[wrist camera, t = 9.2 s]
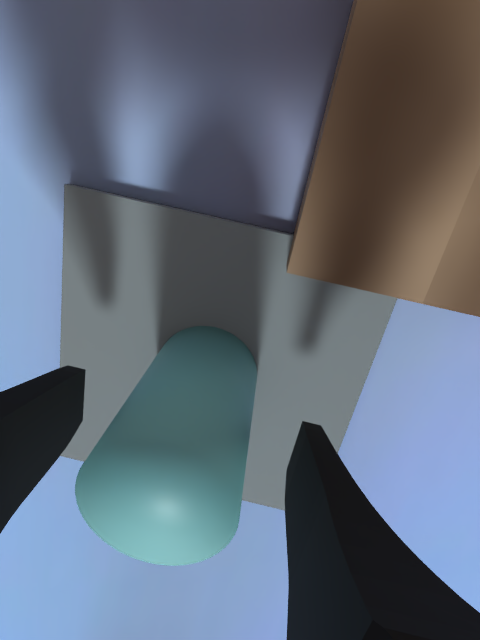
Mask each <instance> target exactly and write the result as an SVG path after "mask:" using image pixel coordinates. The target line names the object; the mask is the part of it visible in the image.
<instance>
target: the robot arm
mask: <svg viewBox="0 0 480 640" xmlns="http://www.w3.org/2000/svg"><path fill="white" fill-rule="evenodd" d="M85 373H86V369H81V368H77V367H73V366H69V365H67V366H64V367H61V368H59V369H56V370H54V371H51V372H49V373H46V374H44V375H41V376H39V377H37V378H34V379H32V380H29V381H27V382H25V383H22V384H20V385H17V386H15V387H12V388H10V389H7V390H5V391H2V392H0V533H1V532H2V530H3V529H4V527H5V526H6V524H7V523H8V521H9V520H10V518H11V517H12V515H13V514H14V513H15V511H16V510H17V509H18V507H19V506H20V505H21V504H22V502H23V501H24V500H25V499H26V497H27V496H28V495H29V494H30V492H31V491H32V490H33V489H34V487H35V486H36V485H37V484H38V482H39V481H40V480H41V479H42V478H43V476H44V475H45V474H46V473H47V471H48V470H49V469H50V468H51V466H52V465H53V464H54V463H55V461H56V460H57V459H58V458H59V456H60V455H61V454H62V452H63V451H64V450H65V449H66V447H67V446H68V444H69V443H70V441H71V439H72V438H73V436H74V435H75V433H76V431H77V430H78V428H79V426H80V424H81V423H82V421H83V409H84V391H85ZM285 518H286V537H287V554H288V573H289V595H288V623H287V640H480V613H479V612H478V611H477V610H475V609H474V608H473V607H472V606H471V605H469V604H468V603H467V602H466V601H464V600H463V599H462V598H461V597H460V596H459V595H457V594H456V593H455V592H454V591H453V590H452V589H451V588H450V587H449V586H448V585H446V584H445V583H444V582H443V581H442V580H441V579H440V578H439V577H438V576H436V575H435V574H434V573H433V572H432V571H431V570H430V569H429V568H428V567H427V566H426V565H425V564H424V563H423V562H422V561H421V560H420V559H419V558H418V557H417V556H416V555H415V554H414V553H413V552H412V551H411V550H410V549H409V548H408V546H407V545H406V544H405V543H404V542H403V541H402V540H401V539H400V538H399V537H398V536H397V535H396V534H395V532H394V531H393V530H392V529H391V528H390V527H389V525H388V524H387V523H386V522H385V521H384V519H383V518H382V517H381V516H380V515H379V513H378V512H377V511H376V510H375V508H374V507H373V506H372V505H371V503H370V502H369V501H368V499H367V498H366V496H365V495H364V494H363V492H362V491H361V489H360V488H359V487H358V485H357V484H356V482H355V481H354V479H353V478H352V476H351V475H350V473H349V472H348V470H347V468H346V467H345V465H344V464H343V462H342V460H341V459H340V457H339V455H338V454H337V452H336V450H335V449H334V447H333V445H332V443H331V442H330V440H329V438H328V436H327V435H326V433H325V431H324V430H323V428H322V426H321V425H317V424H313V423H309V422H305V421H302V424H301V427H300V430H299V433H298V436H297V439H296V442H295V445H294V448H293V451H292V454H291V457H290V461H289V464H288V467H287V470H286V484H285Z"/></svg>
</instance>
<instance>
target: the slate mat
mask: <svg viewBox="0 0 480 640" xmlns="http://www.w3.org/2000/svg"><path fill="white" fill-rule="evenodd" d="M293 238H294V234H290V233H285V232H281V231H276V230H272V229H267V228H263V227H259V226H254V225H250V224H245V223H241V222H236V221H232V220H228V219H223V218H219V217H214V216H210V215H205V214H201V213H196V212H192V211H188V210H183V209H179V208H174V207H170V206H165V205H161V204H157V203H152V202H148V201H143V200H139V199H134V198H130V197H126V196H121V195H117V194H112V193H108V192H103V191H99V190H95V189H90V188H86V187H81V186H77V185H72V184H65V186H64V226H63V266H62V306H61V345H60V368H61V367H64V366H67V365H69V366H73V367H77V368H81V369H86V373H85V391H84V409H83V421H82V423H81V424H80V426H79V428H78V430H77V431H76V433H75V435H74V436H73V438H72V439H71V441H70V443H69V444H68V446H67V447H66V449H65V450H64V451H63V452H62V454H61V455H60V456H63V457H67V458H71V459H75V460H80V461H84V462H85V460H86V459H87V457H88V456H89V454H90V453H91V451H92V450H93V448H94V447H95V446H96V444H97V443H98V441H99V440H100V438H101V437H102V435H103V434H104V432H105V431H106V429H107V428H108V426H109V425H110V424H111V422H112V421H113V419H114V418H115V416H116V415H117V413H118V412H119V410H120V409H121V407H122V406H123V404H124V403H125V401H126V400H127V399H128V397H129V396H130V394H131V393H132V391H133V390H134V388H135V387H136V385H137V384H138V382H139V381H140V379H141V378H142V377H143V375H144V374H145V372H146V371H147V369H148V368H149V366H150V365H151V363H152V362H153V360H154V359H155V357H156V356H157V354H158V353H159V352H160V350H161V349H162V347H163V346H164V344H165V343H166V342H167V341H168V339H170V338H171V337H172V336H173V335H174V334H176V333H177V332H179V331H181V330H183V329H186V328H190V327H195V326H211V327H216V328H220V329H223V330H225V331H227V332H230V333H231V334H233V335H235V336H236V337H237V338H239V339H240V340H241V341H242V342H243V343H244V344H245V345H246V346H247V348H248V349H249V350H250V352H251V354H252V355H253V358H254V360H255V363H256V367H257V383H256V391H255V399H254V407H253V414H252V422H251V430H250V438H249V446H248V454H247V462H246V470H245V478H244V486H243V493H242V500H244V501H248V502H252V503H256V504H260V505H264V506H268V507H273V508H277V509H281V510H285V484H286V470H287V467H288V464H289V461H290V457H291V454H292V451H293V448H294V445H295V442H296V439H297V436H298V433H299V430H300V427H301V424H302V421H305V422H309V423H313V424H317V425H321V426H322V428H323V430H324V431H325V433H326V435H327V436H328V438H329V440H330V442H331V443H332V445H333V447H334V449H335V450H336V452H337V454H338V451H339V448H340V446H341V443H342V441H343V438H344V435H345V433H346V430H347V428H348V425H349V422H350V420H351V417H352V415H353V412H354V409H355V407H356V404H357V402H358V399H359V396H360V394H361V391H362V389H363V386H364V383H365V381H366V378H367V376H368V373H369V370H370V368H371V365H372V363H373V360H374V358H375V355H376V352H377V350H378V347H379V345H380V342H381V339H382V337H383V334H384V332H385V329H386V326H387V324H388V321H389V319H390V316H391V313H392V311H393V308H394V306H395V303H396V300H397V298H395V297H391V296H386V295H382V294H378V293H373V292H369V291H364V290H360V289H356V288H351V287H347V286H343V285H338V284H334V283H329V282H325V281H321V280H316V279H312V278H307V277H303V276H299V275H294V274H290V273H287V266H286V265H287V261H288V257H289V253H290V249H291V245H292V241H293Z"/></svg>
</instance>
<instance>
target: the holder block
mask: <svg viewBox="0 0 480 640" xmlns="http://www.w3.org/2000/svg"><path fill="white" fill-rule="evenodd" d="M286 266H287V273H290V274H294V275H299V276H303V277H307V278H312V279H316V280H321V281H325V282H329V283H334V284H338V285H343V286H347V287H351V288H356V289H360V290H364V291H369V292H373V293H378V294H382V295H386V296H391V297H395V298H400V299H404V300H408V301H413V302H417V303H421V304H426V305H430V306H435V307H439V308H443V309H448V310H452V311H456V312H461V313H465V314H470V315H474V316H478V317H480V0H354V1H353V5H352V8H351V12H350V16H349V20H348V24H347V28H346V32H345V36H344V40H343V44H342V47H341V51H340V55H339V59H338V63H337V67H336V71H335V75H334V79H333V83H332V86H331V90H330V94H329V98H328V102H327V106H326V110H325V114H324V118H323V122H322V125H321V129H320V133H319V137H318V141H317V145H316V149H315V153H314V157H313V161H312V164H311V168H310V172H309V176H308V180H307V184H306V188H305V192H304V196H303V200H302V203H301V207H300V211H299V215H298V219H297V223H296V227H295V231H294V238H293V241H292V245H291V249H290V253H289V257H288V261H287V265H286Z"/></svg>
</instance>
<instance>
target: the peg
mask: <svg viewBox="0 0 480 640" xmlns="http://www.w3.org/2000/svg"><path fill="white" fill-rule="evenodd" d="M256 383H257V367H256V363H255V360H254V358H253V355H252V354H251V352H250V350H249V349H248V348H247V346H246V345H245V344H244V343H243V342H242V341H241V340H240V339H239V338H237V337H236V336H235V335H233V334H231V333H230V332H227V331H225V330H223V329H220V328H216V327H211V326H195V327H190V328H186V329H183V330H181V331H179V332H177V333H176V334H174V335H173V336H172V337H171V338H170V339H168V341H167V342H166V343H165V344H164V346H163V347H162V349H161V350H160V352H159V353H158V354H157V356H156V357H155V359H154V360H153V362H152V363H151V365H150V366H149V368H148V369H147V371H146V372H145V374H144V375H143V377H142V378H141V379H140V381H139V382H138V384H137V385H136V387H135V388H134V390H133V391H132V393H131V394H130V396H129V397H128V399H127V400H126V401H125V403H124V404H123V406H122V407H121V409H120V410H119V412H118V413H117V415H116V416H115V418H114V419H113V421H112V422H111V424H110V425H109V426H108V428H107V429H106V431H105V432H104V434H103V435H102V437H101V438H100V440H99V441H98V443H97V444H96V446H95V447H94V448H93V450H92V451H91V453H90V454H89V456H88V457H87V459H86V460H85V462H84V463H83V465H82V467H81V468H80V470H79V473H78V475H77V479H76V484H75V495H76V501H77V504H78V507H79V510H80V512H81V514H82V516H83V518H84V520H85V521H86V523H87V524H88V526H89V527H90V528H91V529H92V530H93V532H94V533H95V534H96V535H97V536H99V537H100V538H101V539H102V540H103V541H104V542H106V543H107V544H108V545H110V546H111V547H113V548H114V549H116V550H117V551H119V552H121V553H123V554H125V555H127V556H130V557H132V558H135V559H138V560H141V561H144V562H148V563H153V564H159V565H172V566H176V565H187V564H193V563H197V562H200V561H203V560H206V559H208V558H211V557H212V556H214V555H216V554H217V553H219V552H220V551H221V550H223V549H224V548H225V547H226V546H227V545H228V544H229V543H230V541H231V540H232V538H233V537H234V535H235V532H236V530H237V528H238V523H239V517H240V509H241V501H242V493H243V486H244V478H245V470H246V462H247V454H248V446H249V438H250V430H251V422H252V414H253V407H254V399H255V391H256Z"/></svg>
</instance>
